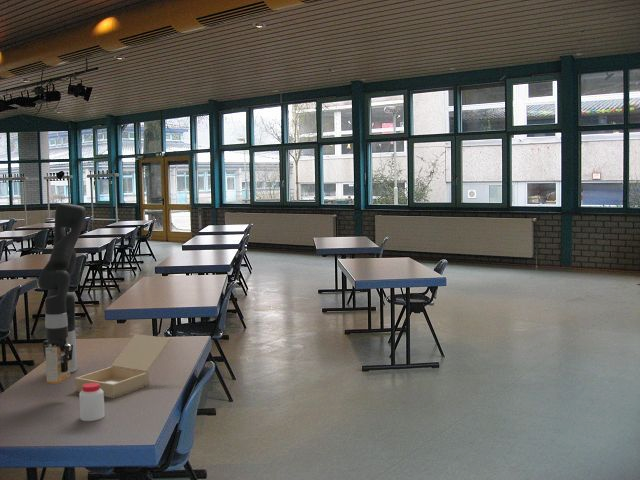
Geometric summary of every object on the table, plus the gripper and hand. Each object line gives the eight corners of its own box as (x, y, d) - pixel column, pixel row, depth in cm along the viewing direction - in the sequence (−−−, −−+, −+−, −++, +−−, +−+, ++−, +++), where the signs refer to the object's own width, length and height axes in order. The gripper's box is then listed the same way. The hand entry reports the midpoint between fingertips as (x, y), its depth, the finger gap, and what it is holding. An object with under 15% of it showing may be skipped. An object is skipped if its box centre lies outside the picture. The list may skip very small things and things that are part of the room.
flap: (135, 334, 280) (136, 335, 280) (111, 365, 269) (111, 366, 269) (170, 338, 271) (171, 339, 271) (146, 370, 259) (147, 372, 260)
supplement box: (58, 384, 240) (56, 348, 239) (46, 383, 241) (44, 347, 240) (71, 377, 248) (70, 342, 247) (59, 376, 249) (58, 342, 248)
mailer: (75, 391, 254) (75, 378, 254) (111, 378, 270) (111, 366, 269) (113, 398, 244) (113, 384, 244) (148, 385, 260) (148, 372, 259)
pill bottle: (83, 413, 228) (82, 382, 227) (107, 412, 228) (105, 381, 227) (77, 421, 220) (75, 388, 219) (101, 420, 221) (100, 387, 220)
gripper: (78, 325, 242) (80, 370, 244) (52, 321, 249) (54, 365, 251) (61, 329, 236) (63, 376, 237) (34, 325, 243) (36, 370, 244)
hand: (58, 370), depth 244 cm, fingers closed on supplement box, 5 cm apart
